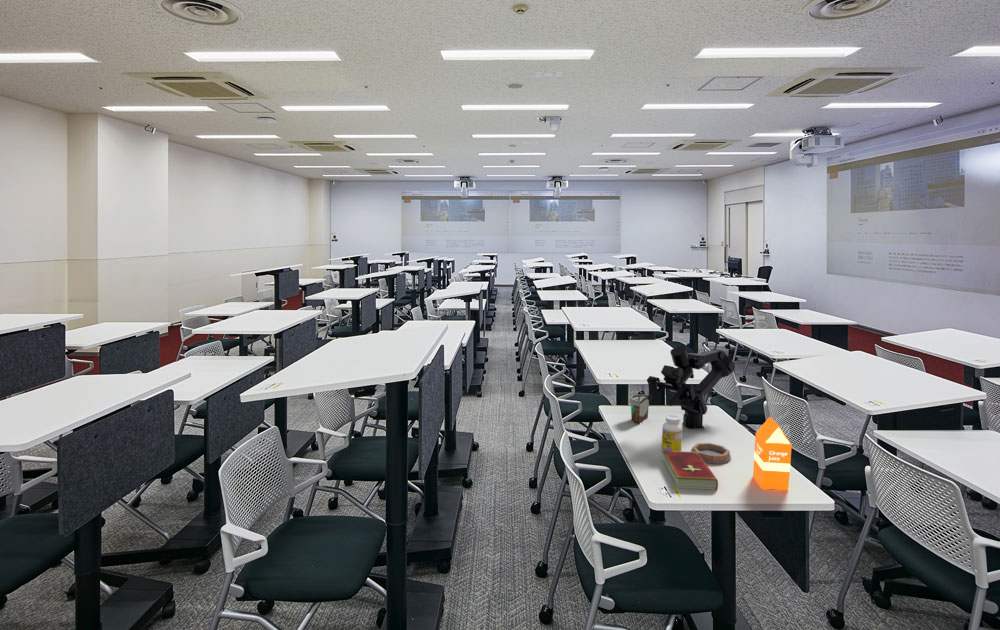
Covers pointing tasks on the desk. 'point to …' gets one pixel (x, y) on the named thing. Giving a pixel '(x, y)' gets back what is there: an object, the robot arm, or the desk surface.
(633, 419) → the food container
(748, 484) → the desk surface
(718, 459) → the coaster ring
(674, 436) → the supplement bottle
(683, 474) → the hardcover book
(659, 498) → the desk surface
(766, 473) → the orange juice
